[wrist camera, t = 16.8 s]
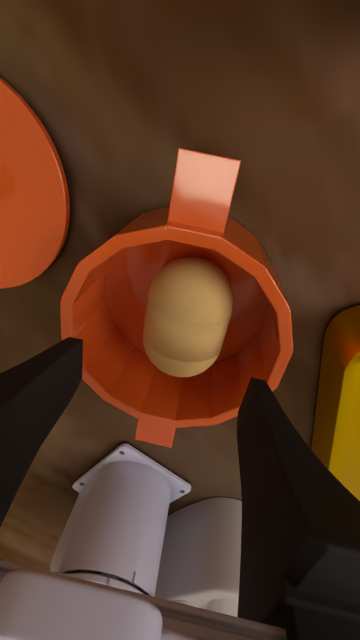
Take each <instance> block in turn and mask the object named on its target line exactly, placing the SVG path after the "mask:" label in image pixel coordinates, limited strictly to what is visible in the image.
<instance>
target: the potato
mask: <svg viewBox="0 0 360 640" xmlns="http://www.w3.org/2000/svg"><path fill="white" fill-rule="evenodd" d="M233 304H234V295H233V291H232V287H231V283H230V282H229V280H228V278H227V276H226V275H225V273H224V272H223V271H222V270H221V269H220V268H219V267H218V266H216V265H215V264H213V263H212V262H210V261H208V260H205V259H202V258H197V257H186V258H180V259H177V260H174V261H172V262H170V263H168V264H167V265H166V266H164V267H163V268H162V269H161V270H160V271H159V272H158V273H157V275H156V276H155V277H154V279H153V281H152V283H151V286H150V290H149V293H148V300H147V307H146V315H145V322H144V330H143V344H144V348H145V351H146V354H147V356H148V358H149V359H150V361H151V362H152V363H153V364H154V365H155V366H156V367H157V368H158V369H159V370H161V371H162V372H164V373H166V374H168V375H171V376H175V377H191V376H194V375H197V374H200V373H202V372H204V371H205V370H206V369H208V368H209V367H210V366H211V365H212V364H213V363H214V362H215V360H216V359H217V357H218V355H219V353H220V351H221V348H222V345H223V341H224V338H225V334H226V331H227V328H228V324H229V321H230V318H231V314H232V309H233Z"/></svg>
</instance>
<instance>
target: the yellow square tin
mask: <svg viewBox="0 0 360 640" xmlns="http://www.w3.org/2000/svg"><path fill="white" fill-rule="evenodd" d="M311 450H312V451H313V452H314V454H315V455H316V456H317V457H318V458H319V460H320V461H321V462H322V463H323V464H324V465H325V467H326V468H327V469H328V470H329V471H330V472H331V473H332V474H333V475H334V476H335V477H336V478H337V479H338V480H339V481H340V482H341V483H342V484H343V486H344V487H345V488H347V489H348V490H349V491H350V492H351V493H352V494H353V495H354V496H355V497H356V498H357V499H358V500H359V501H360V305H356V306H353V307H350V308H348V309H345V310H343V311H341V312H340V313H339V314H337V315H336V316H335V317H334V318H333V319H332V320H331V322H330V323H329V325H328V327H327V329H326V331H325V334H324V342H323V350H322V359H321V368H320V377H319V386H318V395H317V403H316V412H315V421H314V430H313V439H312V448H311Z"/></svg>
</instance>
